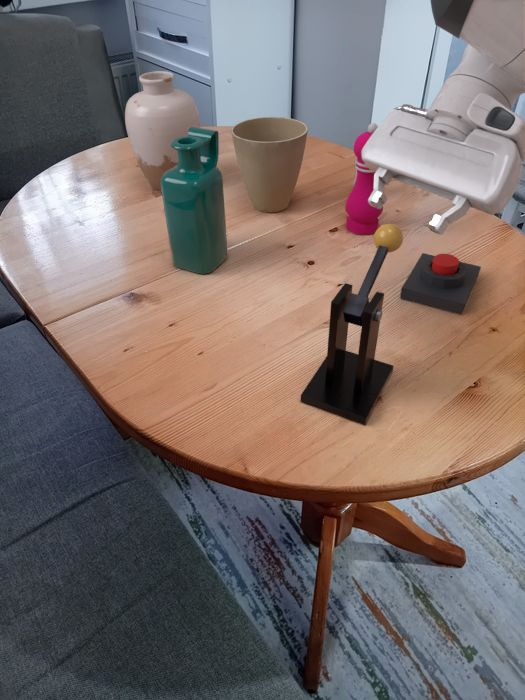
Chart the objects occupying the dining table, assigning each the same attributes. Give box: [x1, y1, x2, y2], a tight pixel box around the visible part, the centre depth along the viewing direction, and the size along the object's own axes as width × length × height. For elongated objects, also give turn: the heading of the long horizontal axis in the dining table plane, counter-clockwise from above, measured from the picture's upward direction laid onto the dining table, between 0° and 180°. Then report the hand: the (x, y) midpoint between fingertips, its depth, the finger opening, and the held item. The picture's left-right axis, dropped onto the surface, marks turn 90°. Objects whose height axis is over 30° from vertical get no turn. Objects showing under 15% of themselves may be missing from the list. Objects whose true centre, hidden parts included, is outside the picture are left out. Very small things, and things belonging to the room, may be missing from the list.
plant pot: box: [230, 116, 309, 213], centre depth 110 cm, size 15×15×16 cm
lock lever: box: [343, 223, 404, 327], centre depth 66 cm, size 14×4×4 cm, turn 151°
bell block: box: [399, 252, 482, 316], centre depth 89 cm, size 12×10×4 cm
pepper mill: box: [344, 122, 384, 236], centre depth 100 cm, size 7×7×20 cm
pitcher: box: [161, 127, 229, 275], centre depth 92 cm, size 10×8×22 cm
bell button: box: [432, 253, 460, 275], centre depth 87 cm, size 4×4×2 cm
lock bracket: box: [299, 282, 395, 426], centre depth 68 cm, size 11×9×15 cm
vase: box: [124, 70, 201, 192], centre depth 117 cm, size 16×16×23 cm
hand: (402, 218), depth 68 cm, fingers open, 8 cm apart
